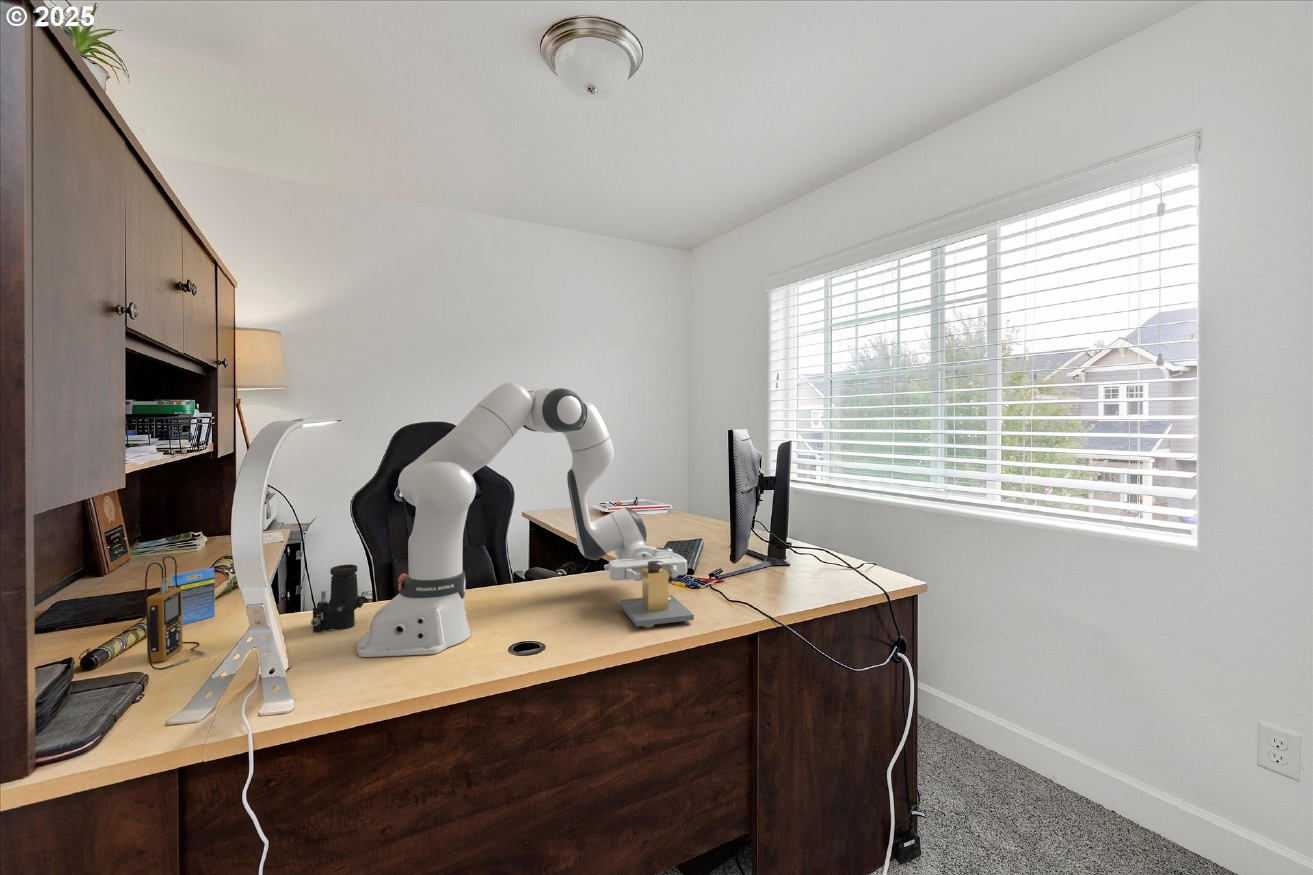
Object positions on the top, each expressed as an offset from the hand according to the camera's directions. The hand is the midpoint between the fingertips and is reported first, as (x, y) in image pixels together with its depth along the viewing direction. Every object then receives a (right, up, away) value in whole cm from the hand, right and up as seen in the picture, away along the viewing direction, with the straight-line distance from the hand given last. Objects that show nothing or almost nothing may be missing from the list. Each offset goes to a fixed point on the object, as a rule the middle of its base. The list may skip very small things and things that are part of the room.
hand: (656, 575), depth 135 cm
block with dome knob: (0, -8, +1) cm, 8 cm away
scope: (-73, -11, -6) cm, 74 cm away
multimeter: (-96, -11, -22) cm, 99 cm away
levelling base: (0, -10, +1) cm, 10 cm away
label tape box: (-111, -10, -2) cm, 112 cm away
